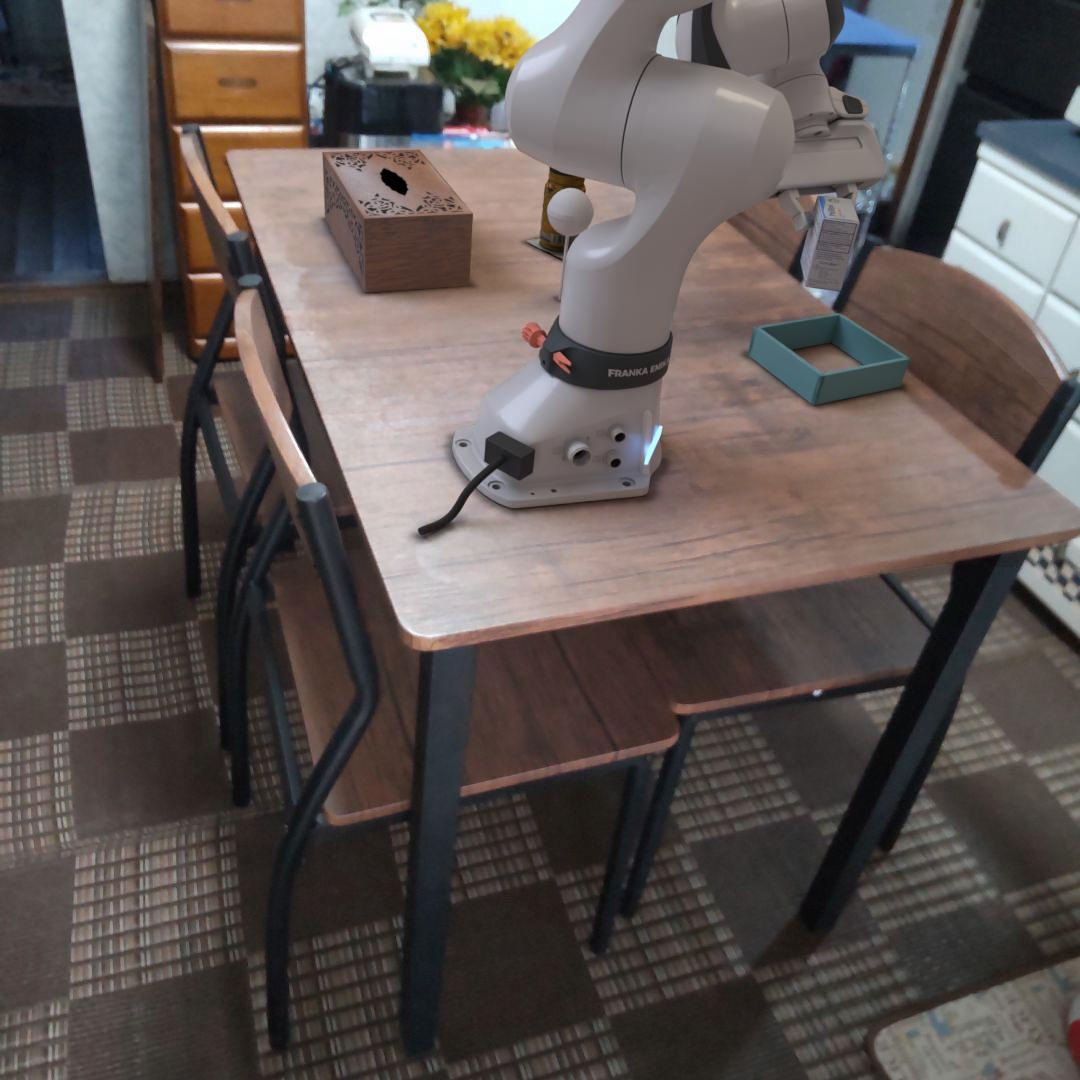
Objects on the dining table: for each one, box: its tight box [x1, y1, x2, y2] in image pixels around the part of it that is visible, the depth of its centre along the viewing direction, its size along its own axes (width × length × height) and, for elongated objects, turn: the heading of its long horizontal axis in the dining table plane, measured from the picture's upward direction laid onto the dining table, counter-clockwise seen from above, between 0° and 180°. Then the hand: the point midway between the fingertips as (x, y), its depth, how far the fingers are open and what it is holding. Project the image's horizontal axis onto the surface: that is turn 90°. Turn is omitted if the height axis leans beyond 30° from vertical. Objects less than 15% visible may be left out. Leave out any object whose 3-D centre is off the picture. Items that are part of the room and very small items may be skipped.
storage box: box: [747, 312, 911, 406], centre depth 125 cm, size 14×13×4 cm
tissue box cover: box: [321, 149, 474, 294], centre depth 140 cm, size 26×14×10 cm, turn 21°
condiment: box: [526, 166, 587, 260], centre depth 146 cm, size 7×8×12 cm
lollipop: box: [547, 188, 595, 301], centre depth 131 cm, size 6×6×15 cm
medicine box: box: [799, 195, 861, 293], centre depth 119 cm, size 8×4×9 cm, turn 172°
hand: (827, 226), depth 120 cm, fingers closed on medicine box, 5 cm apart
